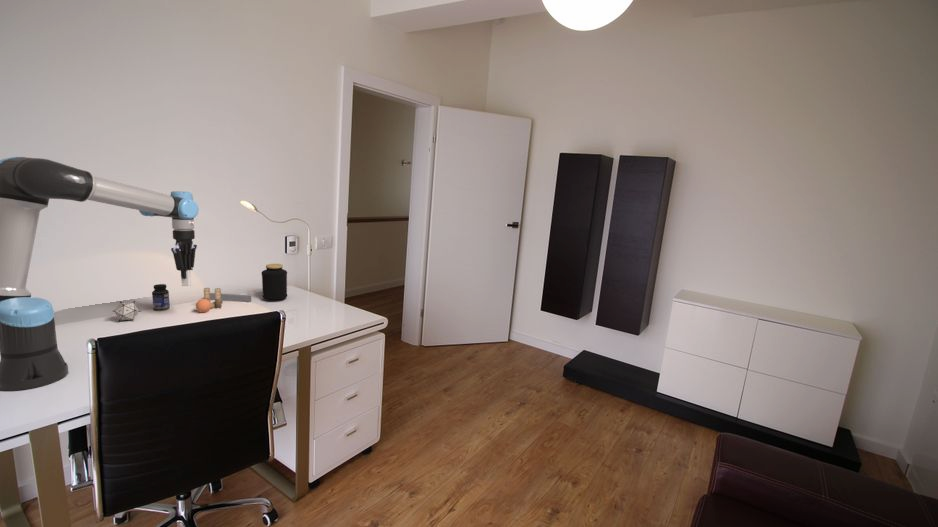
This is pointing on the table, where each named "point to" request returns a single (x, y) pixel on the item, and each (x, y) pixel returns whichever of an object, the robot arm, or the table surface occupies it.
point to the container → (274, 282)
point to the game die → (126, 311)
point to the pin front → (214, 304)
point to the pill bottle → (160, 297)
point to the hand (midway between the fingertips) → (186, 285)
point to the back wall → (232, 297)
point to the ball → (203, 305)
